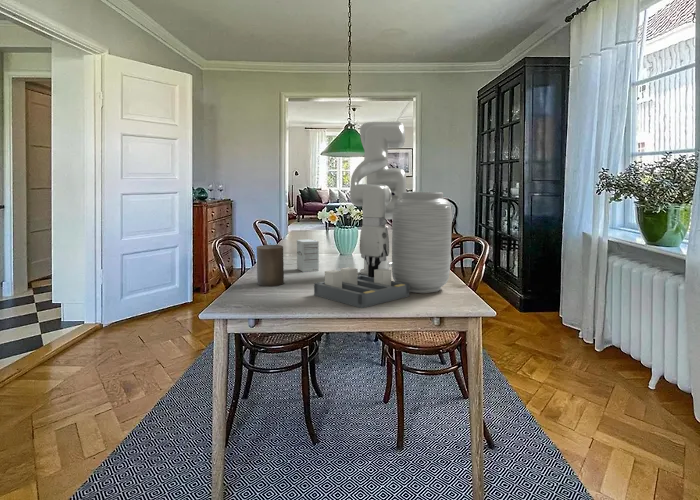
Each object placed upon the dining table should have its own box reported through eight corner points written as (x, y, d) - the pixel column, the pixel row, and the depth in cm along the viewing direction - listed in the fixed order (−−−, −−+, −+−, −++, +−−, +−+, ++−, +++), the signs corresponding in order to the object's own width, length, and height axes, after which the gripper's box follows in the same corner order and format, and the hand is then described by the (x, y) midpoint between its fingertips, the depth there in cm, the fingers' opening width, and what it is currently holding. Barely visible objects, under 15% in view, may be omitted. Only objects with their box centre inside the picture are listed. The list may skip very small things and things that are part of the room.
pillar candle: (289, 283, 178) (288, 242, 175) (267, 287, 170) (267, 245, 168) (272, 279, 184) (272, 240, 182) (251, 283, 177) (250, 242, 175)
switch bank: (314, 295, 159) (314, 282, 159) (361, 285, 174) (361, 274, 174) (361, 308, 144) (361, 294, 143) (409, 296, 159) (409, 283, 158)
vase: (381, 284, 176) (383, 191, 171) (430, 280, 183) (432, 191, 179) (408, 297, 157) (410, 193, 153) (461, 292, 165) (465, 192, 160)
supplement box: (296, 269, 206) (296, 239, 204) (313, 268, 209) (312, 238, 207) (302, 272, 199) (302, 241, 198) (319, 271, 203) (319, 240, 201)
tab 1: (324, 292, 158) (324, 271, 157) (333, 290, 161) (333, 269, 160) (332, 294, 156) (332, 273, 155) (342, 292, 158) (342, 271, 157)
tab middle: (340, 289, 163) (340, 268, 162) (349, 287, 166) (349, 267, 165) (348, 291, 160) (348, 270, 159) (357, 289, 163) (357, 268, 162)
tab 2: (373, 290, 162) (374, 269, 161) (382, 288, 164) (382, 268, 163) (382, 292, 159) (383, 271, 158) (390, 290, 162) (391, 269, 161)
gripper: (398, 223, 159) (397, 278, 161) (365, 220, 169) (365, 272, 172) (382, 224, 154) (381, 281, 156) (350, 221, 164) (349, 275, 167)
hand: (373, 276), depth 164 cm, fingers closed
